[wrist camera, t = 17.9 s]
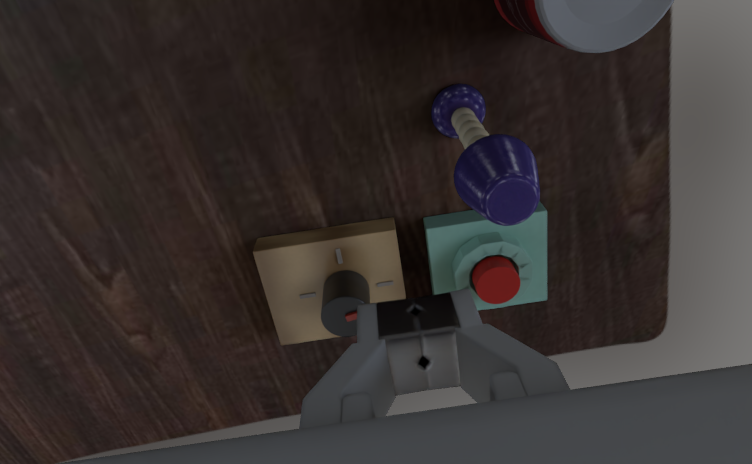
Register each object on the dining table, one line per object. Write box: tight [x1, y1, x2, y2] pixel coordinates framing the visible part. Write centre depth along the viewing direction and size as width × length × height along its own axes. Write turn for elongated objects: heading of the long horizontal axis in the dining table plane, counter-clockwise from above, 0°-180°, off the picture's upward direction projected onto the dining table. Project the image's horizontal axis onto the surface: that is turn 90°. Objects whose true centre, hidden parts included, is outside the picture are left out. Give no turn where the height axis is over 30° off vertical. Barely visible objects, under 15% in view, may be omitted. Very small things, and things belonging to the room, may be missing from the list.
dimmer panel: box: [253, 217, 406, 345], centre depth 46 cm, size 12×10×3 cm
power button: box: [472, 256, 520, 304], centre depth 43 cm, size 4×4×2 cm
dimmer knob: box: [321, 270, 370, 337], centre depth 43 cm, size 4×4×4 cm
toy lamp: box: [431, 84, 540, 226], centre depth 33 cm, size 5×5×17 cm
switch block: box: [423, 201, 547, 310], centre depth 45 cm, size 10×9×4 cm
